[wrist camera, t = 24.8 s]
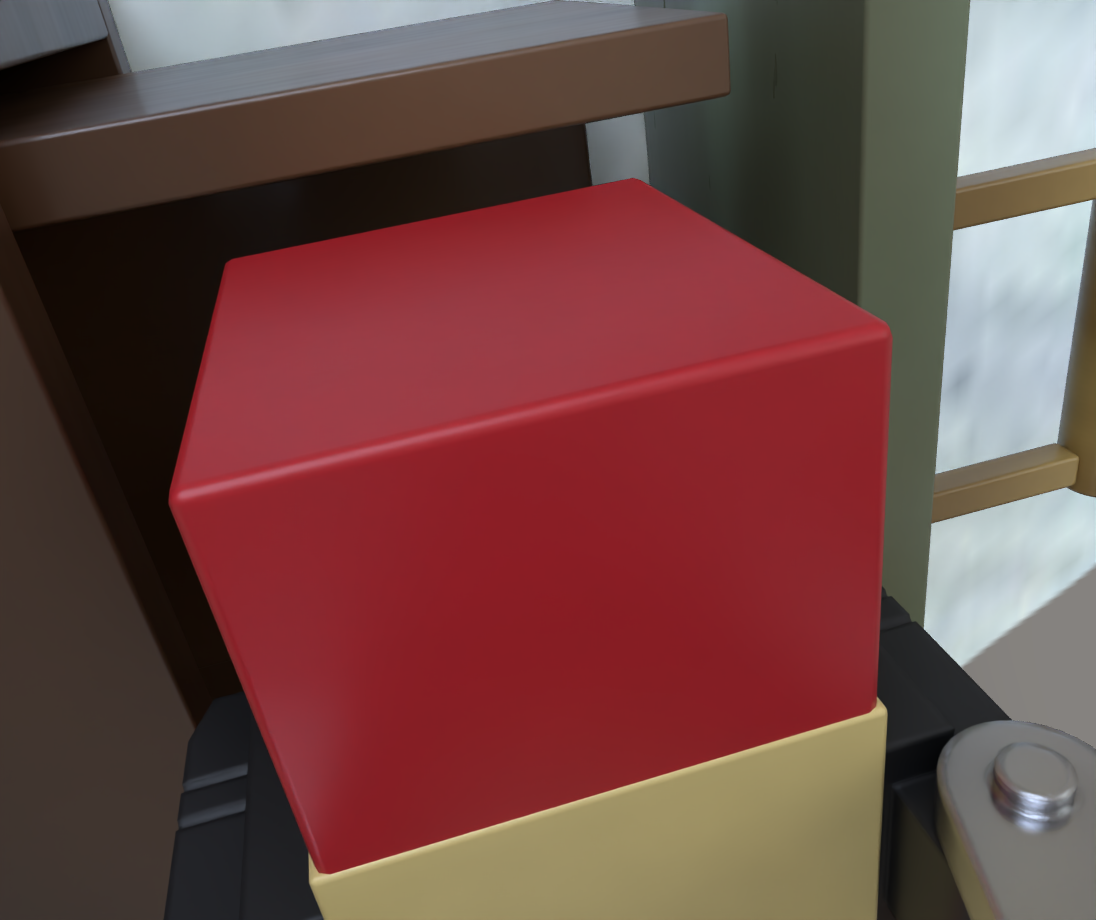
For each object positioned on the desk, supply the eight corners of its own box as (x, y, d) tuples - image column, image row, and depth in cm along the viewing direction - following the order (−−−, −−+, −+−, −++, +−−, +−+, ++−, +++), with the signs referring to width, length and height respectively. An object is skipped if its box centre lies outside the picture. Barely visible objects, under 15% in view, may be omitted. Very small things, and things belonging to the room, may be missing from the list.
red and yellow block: (419, 888, 13) (476, 1292, 9) (216, 258, 8) (149, 501, 5) (698, 803, 13) (867, 1147, 9) (642, 173, 9) (912, 321, 5)
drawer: (1004, -126, 16) (1469, -197, 10) (951, 495, 22) (1213, 702, 16) (-250, 77, 13) (-756, 167, 7) (88, 724, 20) (-14, 1086, 13)
